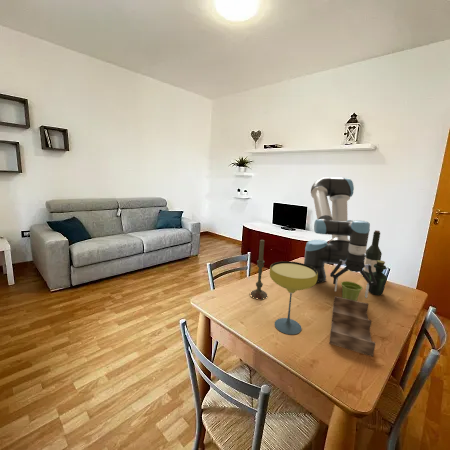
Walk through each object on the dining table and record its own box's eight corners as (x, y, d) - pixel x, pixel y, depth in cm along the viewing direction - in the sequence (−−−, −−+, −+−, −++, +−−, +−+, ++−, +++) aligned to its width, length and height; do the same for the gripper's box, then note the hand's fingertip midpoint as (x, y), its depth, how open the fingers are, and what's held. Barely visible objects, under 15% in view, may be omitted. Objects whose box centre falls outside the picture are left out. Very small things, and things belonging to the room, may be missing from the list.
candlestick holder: (247, 297, 121) (250, 239, 115) (252, 289, 130) (255, 235, 124) (265, 301, 118) (269, 242, 112) (269, 293, 126) (273, 238, 120)
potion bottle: (385, 292, 131) (391, 261, 128) (382, 297, 126) (388, 265, 122) (368, 287, 137) (373, 257, 133) (365, 292, 131) (370, 261, 127)
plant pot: (354, 297, 125) (357, 282, 123) (363, 307, 116) (365, 290, 114) (336, 296, 126) (338, 280, 124) (343, 305, 117) (345, 289, 115)
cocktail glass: (304, 347, 87) (311, 283, 82) (258, 329, 96) (262, 271, 91) (315, 322, 102) (322, 267, 97) (274, 309, 111) (279, 258, 106)
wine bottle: (359, 274, 156) (366, 229, 149) (371, 274, 156) (378, 229, 150) (367, 279, 147) (375, 232, 141) (380, 279, 148) (388, 232, 142)
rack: (329, 343, 90) (331, 331, 89) (333, 305, 116) (334, 296, 115) (372, 356, 84) (375, 343, 83) (366, 314, 110) (368, 303, 109)
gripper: (328, 250, 118) (323, 290, 122) (388, 259, 107) (380, 303, 111) (329, 246, 124) (324, 284, 129) (386, 255, 114) (378, 296, 118)
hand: (350, 293), depth 120 cm, fingers open, 13 cm apart
